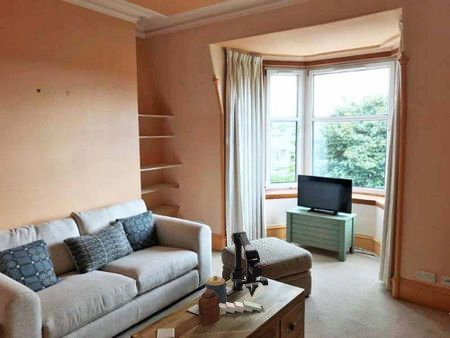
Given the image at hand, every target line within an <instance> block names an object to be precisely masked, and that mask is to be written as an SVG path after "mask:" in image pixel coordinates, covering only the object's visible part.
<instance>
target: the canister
mask: <svg viewBox="0 0 450 338" xmlns="http://www.w3.org/2000/svg"><path fill="white" fill-rule="evenodd" d="M227 285H228V284H227V283H226V280H225V278H223V277H221V276H218V275H214V276H211V277H209V278H208V279H207V280H206V283H205V286H204V287H205V290H204V292H205V291H206V290H214V291H215V292H216V293H217V295H219V299H220V303H223V304H226V302H228V297H227V296H228V295H227V291H228V290H227Z"/></svg>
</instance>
